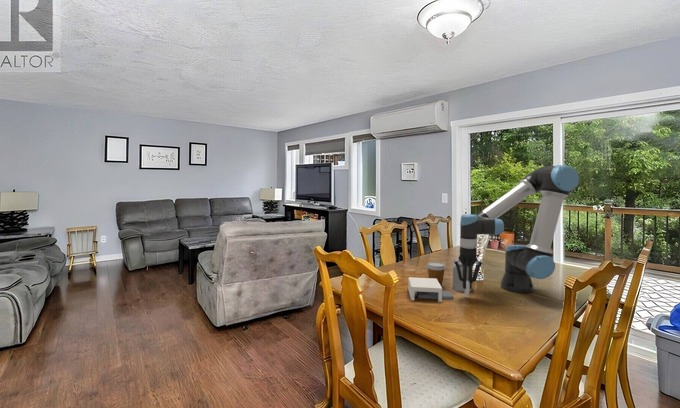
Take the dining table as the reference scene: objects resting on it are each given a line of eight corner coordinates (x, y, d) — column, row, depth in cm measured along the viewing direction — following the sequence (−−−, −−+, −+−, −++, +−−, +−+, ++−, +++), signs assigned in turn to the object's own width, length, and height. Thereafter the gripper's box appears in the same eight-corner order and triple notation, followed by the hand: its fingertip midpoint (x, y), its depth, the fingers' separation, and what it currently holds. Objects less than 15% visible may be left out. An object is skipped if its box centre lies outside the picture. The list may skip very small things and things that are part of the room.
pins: (415, 292, 160) (415, 284, 160) (417, 297, 153) (417, 288, 153) (411, 292, 160) (411, 283, 160) (413, 297, 153) (413, 288, 153)
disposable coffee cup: (446, 289, 164) (446, 267, 164) (426, 288, 166) (427, 266, 165) (443, 284, 174) (444, 262, 173) (425, 282, 176) (426, 261, 175)
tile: (448, 294, 159) (448, 290, 159) (452, 300, 151) (453, 296, 151) (416, 293, 160) (416, 289, 160) (418, 299, 152) (418, 295, 152)
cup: (469, 293, 160) (470, 269, 159) (450, 289, 165) (451, 266, 164) (472, 287, 168) (473, 265, 167) (454, 284, 173) (455, 263, 172)
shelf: (436, 290, 163) (436, 278, 162) (441, 302, 148) (442, 288, 147) (408, 289, 164) (408, 277, 164) (411, 300, 150) (411, 286, 149)
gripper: (480, 245, 155) (478, 292, 157) (452, 244, 156) (451, 291, 158) (485, 248, 147) (483, 298, 149) (455, 248, 149) (454, 297, 151)
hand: (466, 295), depth 154 cm, fingers closed
